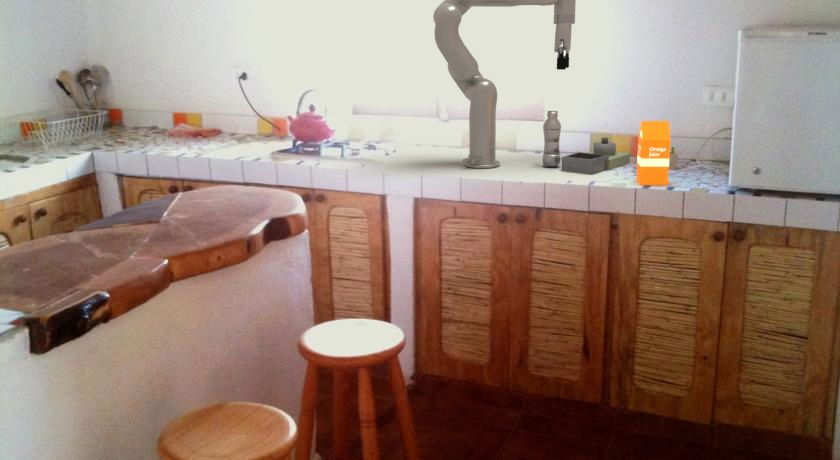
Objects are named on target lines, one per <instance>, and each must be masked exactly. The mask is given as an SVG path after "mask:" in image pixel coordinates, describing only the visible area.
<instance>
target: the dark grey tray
mask: <svg viewBox="0 0 840 460" xmlns="http://www.w3.org/2000/svg"><path fill="white" fill-rule="evenodd" d="M584 157H585V159H583V158H584ZM586 158H588V159H586ZM590 158H591V159H590ZM592 158H594V159H592ZM608 159H609V155H602V154H592V153H587V152H581V151H577V152H574V153H570V154H567V155H564V156H561V165H560V168H561V172H567V173H576V174H583V175H585V174H586V175H590V176H591V175H594V174H597V173H598V174H599V173H601V172H603V171H607V160H608Z"/></svg>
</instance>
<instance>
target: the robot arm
mask: <svg viewBox="0 0 840 460" xmlns="http://www.w3.org/2000/svg"><path fill="white" fill-rule="evenodd" d="M576 2H577V1H576V0H443V1H442V2H440V4H439V5H438V6H437V7H436V8H435V10H433V11H434V12H433V16H432V17H433V21H434V24H435V25H434V40H435V44H436V46H437V49H438V50H439V52H440V53H441V55H442V56H443V58H444V60H445V61H446V63H447V70H448V72H449V75H450V77H451V78H452V79H453V81H454V83H455V84H456V86H457V87H458V88H459V89H460V91H461V93H462V94H463V95H464V97H465V98H466V99H467V100H469V101H470V104H469V116H468V117H469V119H468V120H469V121H468V123H469V124H468V125H469V126H468V128H469V154H468V157H466V158H463V159H462V163H463V164H464V165H465V167H468V168H473V169H492V168H497V167H500V163H501V162H500V161H498V160H496V142H497V141H496V140H497V139H496V134H497V133H496V131H497V130H496V117H497V116H496V115H497V114H496V113H497V102H498V91H497V87H496V84H495V83H494V82H493V81H491V80H490V79H487V78H484V77H483V75H482V73H481V72H480V70H479V64H478V61H477V59H476V58H475V57H474V55H473V54H472V53H471V52H470V50H469V49H468V47H467V46H466V45H465V43H464V41H463V40H462V38H461V35H460V33H459V26H460V25H461V22H462V18H463V16H464V15H465V14H466V13H467V12H468V11H469V10H470V9H471V8H472V7H485V8H486V7H487V8H488V7H491V8H493V7H494V8H495V7H500V8H501V7H503V8H504V7H507V8H509V7H510V8H511V7H517V6H544V7H545V6H553V25H555V32H554V33H555V34H554V50H553V51H554V53H557V54H556V55H557V57H556V70H562V71H563V70H566V69H568V68H570V51H571V47H572V25H574V24H575V23H576Z"/></svg>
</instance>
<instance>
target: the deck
mask: <svg viewBox="0 0 840 460" xmlns="http://www.w3.org/2000/svg"><path fill="white" fill-rule="evenodd" d="M600 140H601V141H596V142H593V150H592V151H588V152H586V153H592V154H602V155H609V159H608V160H607V170H608V171H609V170H614V169H616V168H618V167H622V166H625V165H628V164H631V163H630V161H631V159H630V158H631V153H628V152H627V153H626V152H618V151H616V150H617V143H616V142H614V141H613V142H612V141H609V137H601V139H600ZM583 159H585V157H584V158H583ZM586 159H588V158H586ZM590 159H591V158H590ZM592 159H594V158H592ZM607 170H606V171H607Z"/></svg>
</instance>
